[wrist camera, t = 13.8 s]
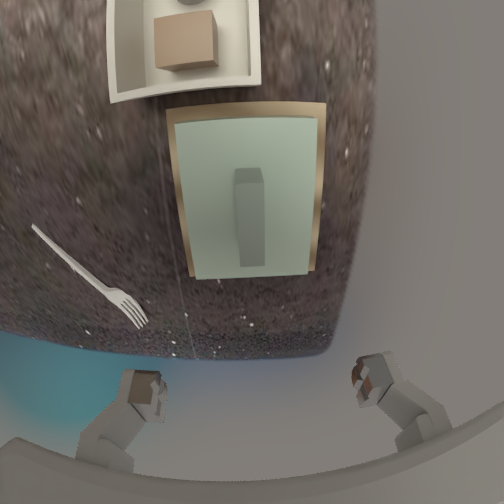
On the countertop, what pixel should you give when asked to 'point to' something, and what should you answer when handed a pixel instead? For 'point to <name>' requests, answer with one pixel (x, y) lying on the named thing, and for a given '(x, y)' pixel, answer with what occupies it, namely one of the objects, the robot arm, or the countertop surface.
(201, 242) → the lid
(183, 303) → the countertop surface
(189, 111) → the tan flat sheet
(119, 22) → the storage box
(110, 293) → the fork
